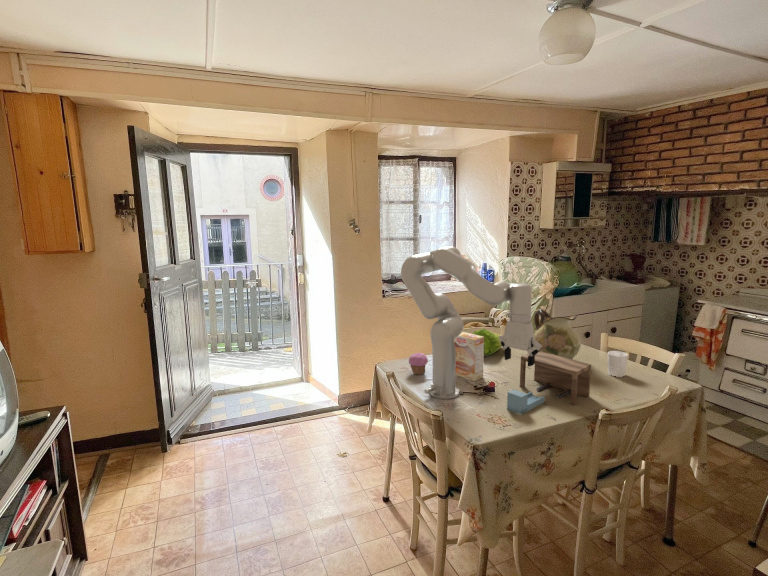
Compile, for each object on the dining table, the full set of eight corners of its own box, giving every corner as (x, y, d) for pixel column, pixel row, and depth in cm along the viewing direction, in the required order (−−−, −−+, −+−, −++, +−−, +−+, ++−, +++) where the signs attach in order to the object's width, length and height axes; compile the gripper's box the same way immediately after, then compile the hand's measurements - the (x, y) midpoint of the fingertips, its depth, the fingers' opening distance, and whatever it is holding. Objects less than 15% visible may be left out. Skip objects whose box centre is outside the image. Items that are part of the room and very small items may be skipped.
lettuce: (490, 345, 239) (513, 354, 228) (464, 352, 223) (487, 361, 212) (494, 321, 236) (517, 328, 225) (467, 326, 220) (491, 334, 209)
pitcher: (577, 372, 193) (580, 319, 189) (524, 364, 205) (526, 314, 201) (581, 358, 212) (584, 310, 208) (533, 351, 224) (535, 306, 220)
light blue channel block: (520, 415, 154) (521, 397, 153) (507, 409, 158) (507, 392, 157) (544, 402, 164) (545, 385, 162) (530, 397, 168) (531, 381, 167)
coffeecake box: (448, 373, 196) (448, 332, 193) (457, 369, 201) (457, 329, 198) (474, 381, 185) (475, 339, 182) (483, 377, 190) (484, 336, 187)
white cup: (621, 379, 184) (623, 357, 182) (603, 374, 190) (604, 353, 188) (629, 374, 189) (630, 353, 187) (610, 370, 195) (612, 349, 193)
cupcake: (430, 371, 198) (430, 351, 196) (423, 378, 190) (423, 357, 189) (413, 369, 202) (413, 349, 200) (405, 375, 194) (405, 354, 193)
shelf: (574, 405, 160) (576, 372, 158) (519, 386, 179) (520, 356, 176) (589, 396, 168) (591, 364, 165) (535, 379, 186) (536, 350, 184)
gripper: (493, 315, 156) (493, 359, 159) (536, 323, 143) (534, 370, 146) (505, 312, 161) (504, 354, 164) (547, 319, 148) (546, 365, 151)
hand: (519, 362), depth 155 cm, fingers open, 9 cm apart
